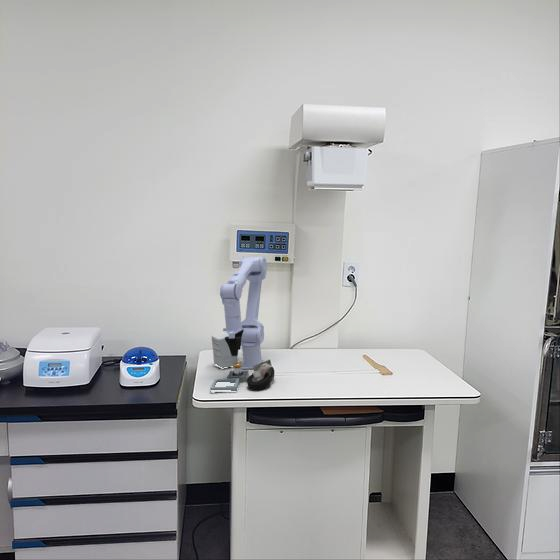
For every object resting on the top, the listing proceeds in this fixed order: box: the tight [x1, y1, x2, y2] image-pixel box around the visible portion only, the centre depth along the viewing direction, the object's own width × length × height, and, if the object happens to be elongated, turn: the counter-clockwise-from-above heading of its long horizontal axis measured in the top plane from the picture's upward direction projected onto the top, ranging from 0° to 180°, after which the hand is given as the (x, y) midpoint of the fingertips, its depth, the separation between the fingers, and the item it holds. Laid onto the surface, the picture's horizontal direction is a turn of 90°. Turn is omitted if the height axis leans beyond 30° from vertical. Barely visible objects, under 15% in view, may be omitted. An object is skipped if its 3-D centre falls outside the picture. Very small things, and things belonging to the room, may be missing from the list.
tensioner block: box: [226, 369, 250, 383], centre depth 184 cm, size 7×7×2 cm
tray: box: [209, 378, 241, 392], centre depth 176 cm, size 9×9×2 cm
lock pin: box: [232, 361, 243, 376], centre depth 184 cm, size 3×3×6 cm
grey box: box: [211, 332, 239, 368], centre depth 200 cm, size 7×7×13 cm
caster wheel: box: [246, 359, 275, 392], centre depth 176 cm, size 7×11×10 cm
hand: (236, 352), depth 183 cm, fingers open, 7 cm apart
